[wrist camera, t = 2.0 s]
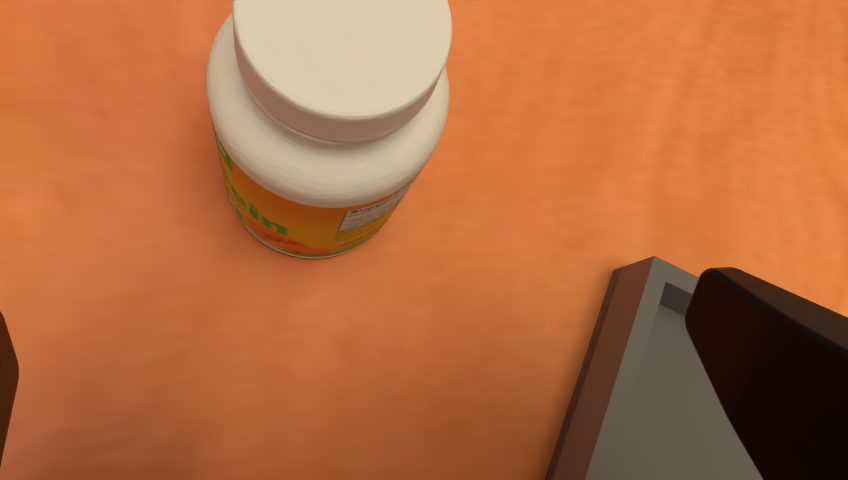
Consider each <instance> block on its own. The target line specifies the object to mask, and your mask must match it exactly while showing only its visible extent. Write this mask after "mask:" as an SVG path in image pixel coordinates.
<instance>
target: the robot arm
mask: <svg viewBox="0 0 848 480" xmlns="http://www.w3.org/2000/svg"><path fill="white" fill-rule="evenodd" d="M685 326H686V330H687V332H688V334H689V337H690V339H691V341H692V343H693V345H694V347H695V350H696V352H697V354H698V356H699V358H700V360H701V363H702V365H703V367H704V369H705V371H706V373H707V376H708V378H709V380H710V382H711V384H712V386H713V388H714V391H715V393H716V395H717V397H718V399H719V401H720V404H721V406H722V408H723V410H724V412H725V414H726V416H727V418H728V420H729V422H730V423H731V425H732V427H733V429H734V431H735V433H736V434H737V436H738V438H739V439H740V441H741V443H742V445H743V446H744V448H745V450H746V451H747V453H748V455H749V456H750V458H751V460H752V462H753V463H754V465H755V467H756V468H757V470H758V472H759V474H760V475H761V477H762V479H763V480H848V318H847V317H845V316H843V315H841V314H838V313H836V312H834V311H832V310H829V309H827V308H825V307H823V306H820V305H818V304H816V303H814V302H811V301H809V300H807V299H805V298H802V297H800V296H798V295H796V294H793V293H791V292H789V291H787V290H784V289H782V288H780V287H778V286H775V285H773V284H771V283H769V282H766V281H764V280H762V279H760V278H757V277H755V276H753V275H751V274H748V273H746V272H744V271H742V270H739V269H737V268H733V267H721V268H709V269H707V270H705V271H704V272H703V273H702V274H701V275H700V277H699V279H698V282H697V284H696V287H695V289H694V292H693V294H692V297H691V299H690V302H689V304H688V307H687V309H686V312H685ZM18 378H19V367H18V361H17V357H16V354H15V351H14V348H13V344H12V341H11V338H10V335H9V332H8V329H7V326H6V322H5V319H4V317H3V315H2V313H1V312H0V466H1V461H2V456H3V451H4V447H5V442H6V437H7V432H8V427H9V423H10V418H11V413H12V408H13V404H14V399H15V394H16V389H17V385H18Z"/></svg>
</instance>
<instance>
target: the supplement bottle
mask: <svg viewBox="0 0 848 480" xmlns="http://www.w3.org/2000/svg"><path fill="white" fill-rule="evenodd" d="M451 39H452V20H451V13H450V9H449V5H448V1H447V0H233V6H232V13H231V14H230V16H229V17H228V18H227V19H226V21H225V22H224V23H223V25H222V27H221V28H220V30H219V31H218V33H217V35H216V38H215V40H214V42H213V45H212V48H211V51H210V56H209V60H208V66H207V76H206V88H207V99H208V105H209V111H210V116H211V120H212V125H213V128H214V132H215V137H216V141H217V146H218V151H219V155H220V160H221V164H222V170H223V175H224V179H225V184H226V189H227V192H228V196H229V199H230V201H231V204H232V206H233V208H234V210H235V212H236V214H237V216H238V217H239V219H240V220H241V222H242V223H243V224H244V226H245V227H246V228H247V229H248V230H249V231H250V232H251V233H252V234H253V235H254V236H255V237H256V238H257V239H259V240H260V241H261V242H263V243H264V244H266V245H267V246H269V247H271V248H273V249H275V250H277V251H279V252H282V253H285V254H287V255H291V256H295V257H301V258H315V259H316V258H327V257H333V256H337V255H340V254H343V253H346V252H348V251H350V250H353V249H355V248H356V247H358V246H360V245H362V244H363V243H365V242H366V241H367V240H369V239H370V238H371V237H372V236H373V235H374V234H375V233H377V231H378V230H379V229H380V228H381V227H382V226H383V225H384V223H385V222H386V221H387V219H388V218H389V217H390V215H391V214H392V212H393V211H394V210H395V208H396V207H397V205H398V204H399V202H400V201H401V199H402V198H403V196H404V195H405V193H406V192H407V190H408V189H409V187H410V186H411V184H412V183H413V182H414V180H415V179H416V177H417V176H418V174H419V173H420V172H421V170H422V169H423V167H424V166H425V164H426V163H427V162H428V160H429V158H430V157H431V155H432V153H433V152H434V150H435V148H436V146H437V144H438V142H439V140H440V138H441V135H442V133H443V130H444V127H445V124H446V119H447V115H448V107H449V83H448V77H447V72H446V67H445V65H446V62H447V59H448V55H449V51H450V47H451Z"/></svg>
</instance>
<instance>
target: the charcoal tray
mask: <svg viewBox="0 0 848 480" xmlns="http://www.w3.org/2000/svg"><path fill="white" fill-rule="evenodd" d="M698 279H699V278H698V277H696V276H694V275H692V274H690V273H688V272H686V271H684V270H682V269H680V268H678V267H676V266H674V265H672V264H670V263H668V262H666V261H664V260H662V259H660V258H658V257H656V256H653V257H650V258H647V259H644V260H641V261H639V262H636V263H633V264H630V265H627V266H624V267H621V268H618V269H615V270H614V272H613V275H612V278H611V281H610V284H609V287H608V290H607V293H606V296H605V299H604V302H603V305H602V308H601V311H600V315H599V318H598V321H597V324H596V327H595V330H594V333H593V336H592V339H591V342H590V345H589V348H588V351H587V354H586V357H585V360H584V363H583V366H582V369H581V372H580V375H579V378H578V381H577V385H576V388H575V391H574V394H573V397H572V400H571V403H570V406H569V409H568V412H567V415H566V418H565V421H564V424H563V427H562V430H561V433H560V436H559V439H558V442H557V445H556V448H555V452H554V455H553V458H552V461H551V464H550V467H549V470H548V473H547V476H546V479H545V480H763V479H762V477H761V475H760V474H759V472H758V470H757V468H756V467H755V465H754V463H753V462H752V460H751V458H750V456H749V455H748V453H747V451H746V450H745V448H744V446H743V445H742V443H741V441H740V439H739V438H738V436H737V434H736V433H735V431H734V429H733V427H732V425H731V423H730V422H729V420H728V418H727V416H726V414H725V412H724V410H723V408H722V406H721V404H720V401H719V399H718V397H717V395H716V393H715V391H714V388H713V386H712V384H711V382H710V380H709V378H708V376H707V373H706V371H705V369H704V367H703V365H702V363H701V360H700V358H699V356H698V354H697V352H696V350H695V347H694V345H693V343H692V341H691V339H690V337H689V334H688V332H687V330H686V326H685V312H686V309H687V307H688V304H689V302H690V299H691V297H692V294H693V292H694V289H695V287H696V284H697V282H698Z"/></svg>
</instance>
